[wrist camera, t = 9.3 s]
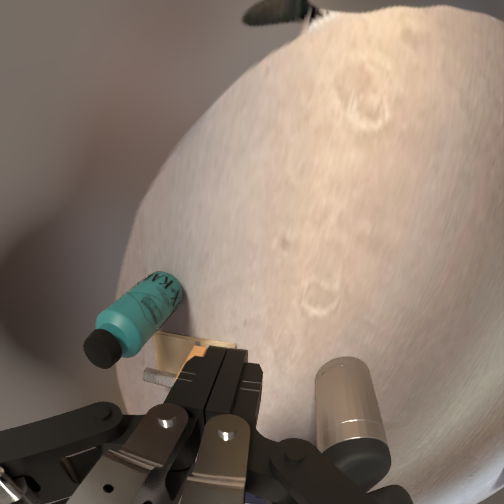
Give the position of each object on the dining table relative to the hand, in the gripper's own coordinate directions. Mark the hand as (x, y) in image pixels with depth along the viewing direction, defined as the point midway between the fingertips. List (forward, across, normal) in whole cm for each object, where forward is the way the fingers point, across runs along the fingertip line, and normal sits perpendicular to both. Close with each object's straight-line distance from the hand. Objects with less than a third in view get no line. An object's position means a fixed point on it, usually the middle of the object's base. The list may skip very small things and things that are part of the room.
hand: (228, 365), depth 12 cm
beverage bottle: (+31, +16, +11) cm, 37 cm away
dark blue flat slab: (+31, -6, +61) cm, 68 cm away
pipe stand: (+31, +13, +24) cm, 42 cm away
